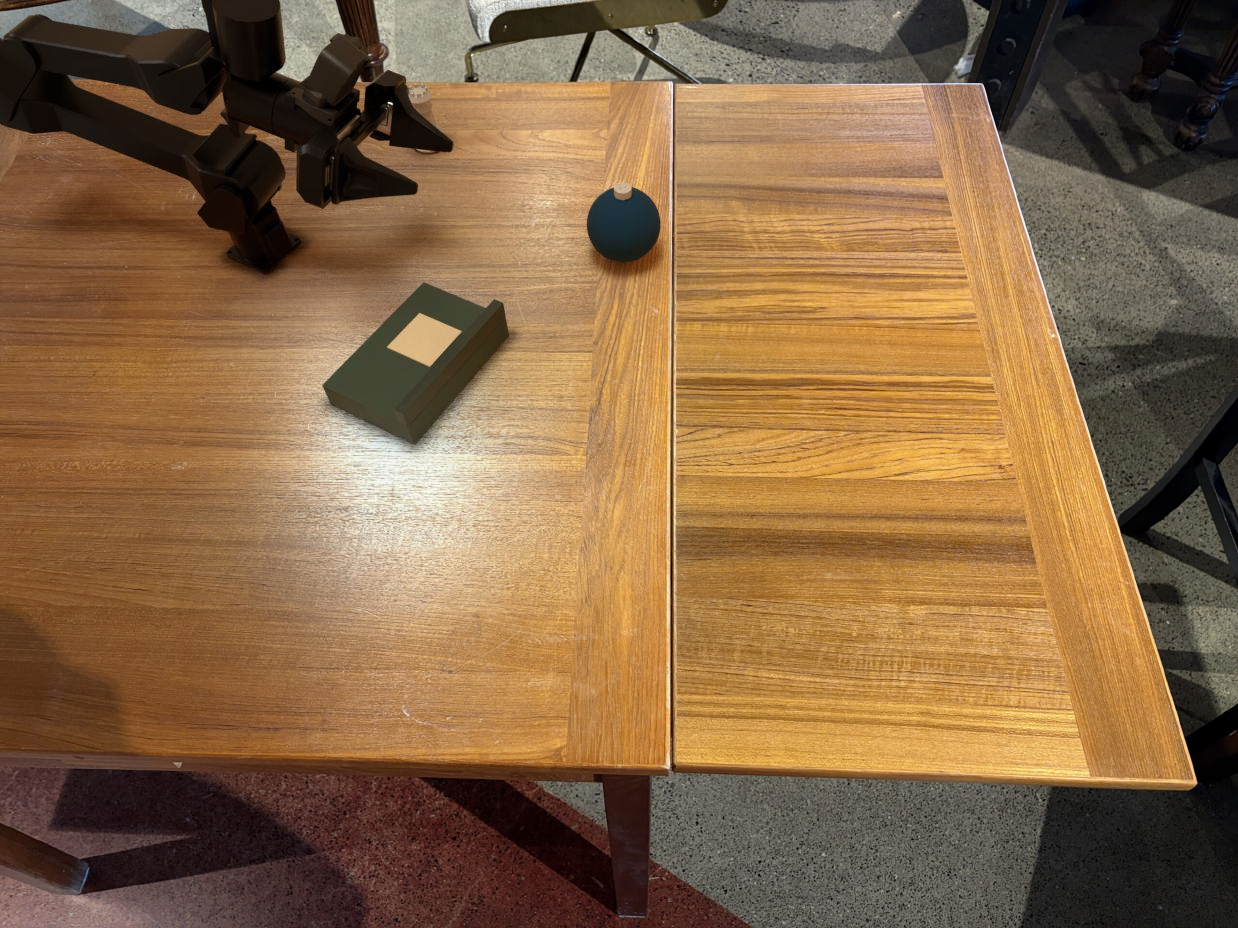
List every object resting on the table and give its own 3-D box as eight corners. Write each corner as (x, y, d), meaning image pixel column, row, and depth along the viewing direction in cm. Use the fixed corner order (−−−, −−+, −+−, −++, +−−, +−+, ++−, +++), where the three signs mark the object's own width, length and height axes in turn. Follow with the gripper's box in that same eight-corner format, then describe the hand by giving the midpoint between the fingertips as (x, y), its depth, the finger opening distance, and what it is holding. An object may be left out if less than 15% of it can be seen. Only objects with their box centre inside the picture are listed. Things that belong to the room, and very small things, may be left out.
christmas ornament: (642, 221, 108) (642, 150, 100) (671, 265, 104) (674, 194, 95) (577, 241, 106) (572, 170, 98) (605, 286, 102) (601, 216, 94)
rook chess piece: (413, 135, 119) (400, 80, 113) (447, 133, 119) (435, 77, 113) (411, 156, 117) (398, 100, 110) (446, 153, 117) (434, 98, 110)
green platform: (330, 403, 93) (315, 372, 89) (428, 301, 101) (419, 268, 97) (414, 445, 89) (403, 414, 85) (509, 335, 98) (503, 302, 94)
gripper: (232, 66, 76) (405, 134, 76) (333, -5, 89) (481, 54, 89) (237, 179, 84) (394, 241, 84) (329, 100, 97) (464, 153, 97)
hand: (435, 167), depth 89 cm, fingers open, 9 cm apart
